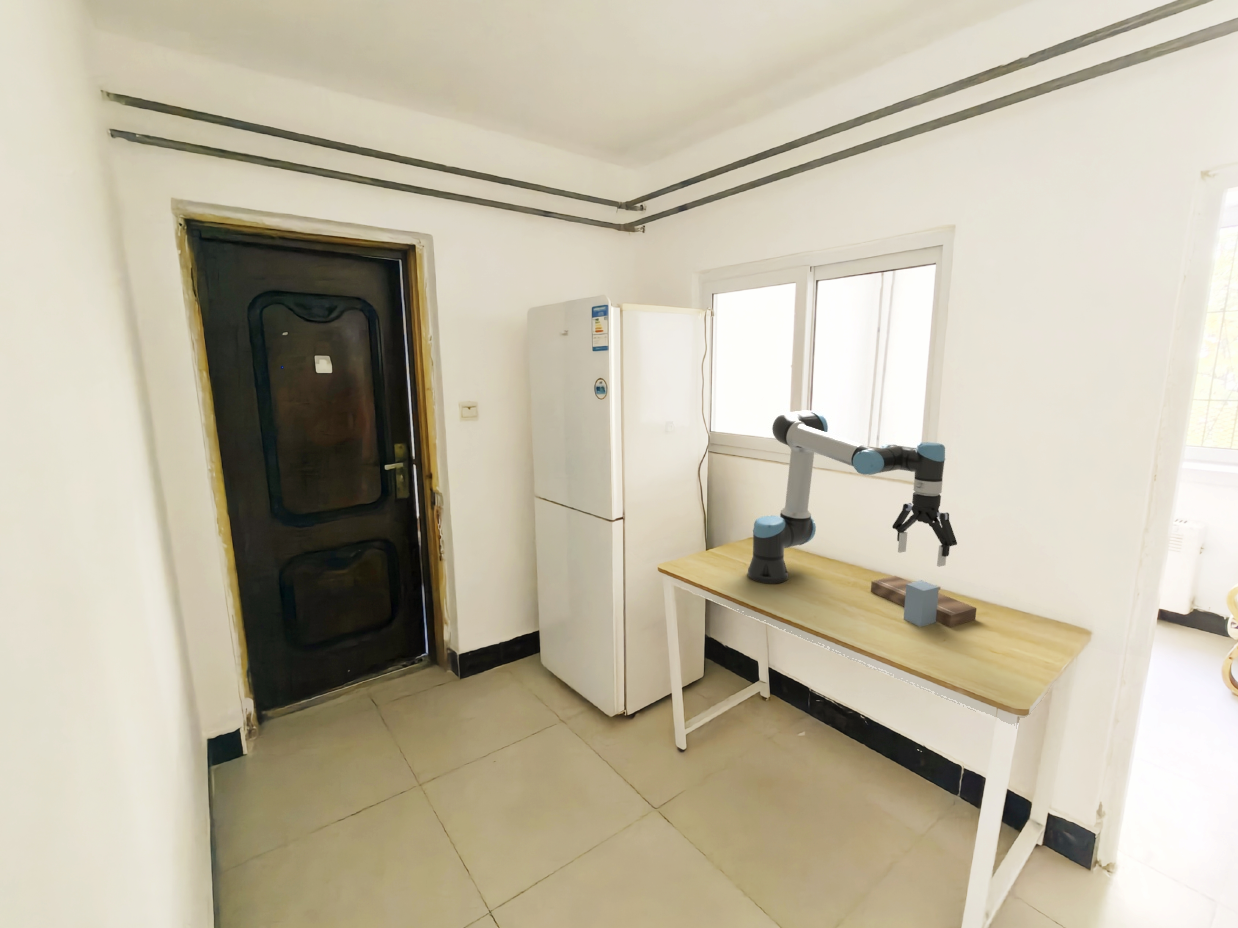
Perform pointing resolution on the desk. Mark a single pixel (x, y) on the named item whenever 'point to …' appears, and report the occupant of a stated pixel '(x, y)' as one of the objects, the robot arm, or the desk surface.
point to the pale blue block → (921, 603)
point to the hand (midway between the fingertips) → (920, 558)
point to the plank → (947, 607)
